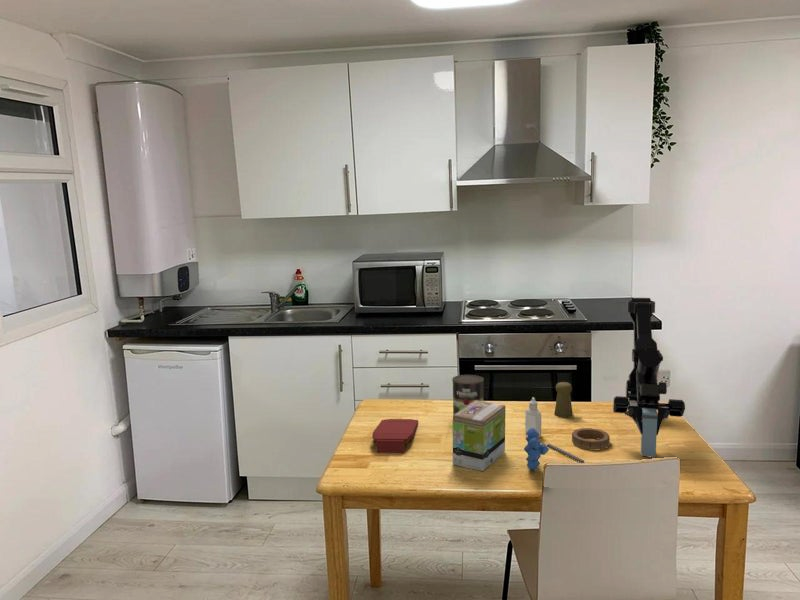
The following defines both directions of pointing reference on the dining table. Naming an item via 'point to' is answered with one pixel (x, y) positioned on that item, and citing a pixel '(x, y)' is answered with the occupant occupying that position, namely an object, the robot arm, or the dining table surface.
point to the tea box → (478, 435)
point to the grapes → (534, 449)
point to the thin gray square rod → (564, 452)
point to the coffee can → (466, 391)
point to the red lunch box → (394, 435)
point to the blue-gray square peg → (649, 432)
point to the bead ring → (590, 444)
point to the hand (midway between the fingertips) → (649, 434)
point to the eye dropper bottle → (533, 417)
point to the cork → (563, 400)
